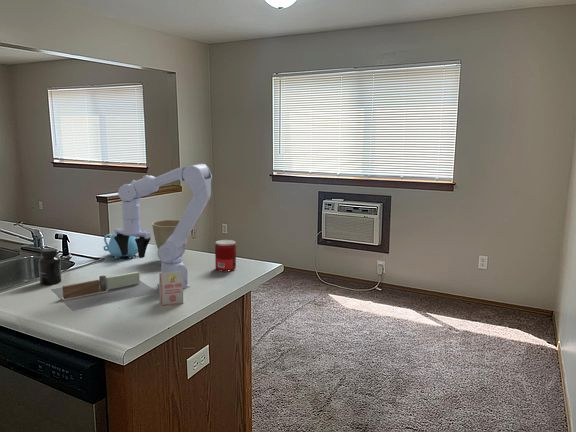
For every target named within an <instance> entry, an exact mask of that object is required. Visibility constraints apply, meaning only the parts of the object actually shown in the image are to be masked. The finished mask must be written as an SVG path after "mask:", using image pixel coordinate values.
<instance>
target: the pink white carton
mask: <svg viewBox="0 0 576 432" xmlns="http://www.w3.org/2000/svg"><path fill="white" fill-rule="evenodd" d="M158 279H159V280H158V283H159V285H158V287H159V288H158V289H159V290H158V293H159V305H160V307H165V306H168V307H169V306H175V305H183V304H184V288H183V280H182V271H179V272H168V273H161V272H160V273H159V277H158Z"/></svg>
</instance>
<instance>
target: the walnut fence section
mask: <svg viewBox="0 0 576 432" xmlns="http://www.w3.org/2000/svg"><path fill="white" fill-rule="evenodd" d="M99 280H100V283H99ZM61 287H62V288H63V299H68V298H73V297H78V296H83V295H88V294H93V293H98V292H105V291H107V290H106V275H100V276H99V279H95V280H90V281H84V282H79V283H71V284H68V285H67V284H66V285H62V286H61Z"/></svg>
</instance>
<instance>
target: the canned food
mask: <svg viewBox="0 0 576 432" xmlns="http://www.w3.org/2000/svg"><path fill="white" fill-rule="evenodd" d="M236 243H237V242H236V241H235V240H233V239H220V240H216V241H215V245H214V246H215V247H214V248H215V249H214V253H215V255H214V256H215V262H214V263H215V269H217V270H216V271H218V270H222V271H221V272H224V271H226V272H229V271H228V270H233V269H235V270H236V267H237V261H236V260H237V244H236ZM233 271H234V270H233Z"/></svg>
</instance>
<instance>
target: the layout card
mask: <svg viewBox="0 0 576 432" xmlns="http://www.w3.org/2000/svg"><path fill="white" fill-rule="evenodd" d="M98 280H99V279H98ZM99 283H100V280H99ZM50 290H51V291H52V292H53V293H54V294H55V295H56V296H57V297H58V298H59V299H60V300H61V301H62V302H63V303H64V304H65V305H66V306H67V307H68V308H69V309H71V310H72V311H80V310H83V309H87V308H92V307H96V306H100V305H101V306H102V305H105V304H110V303H115V302H120V301H124V300H128V299H134V298H137V297H143V296H147V295H152V294H157V293H159V290H156V289H155V288H153V287H151V286H150V285H148V284H146V283H145V282H143V281H141V280H140V283H139V284H134V285H129V286H124V287H119V288H114V289H109V290H107V288H106V290H107V291H105V292H98V293H93V294H88V295H83V296H78V297H73V298H68V299H63V288H62V286H61V287H55V288H52V289H50Z"/></svg>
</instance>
